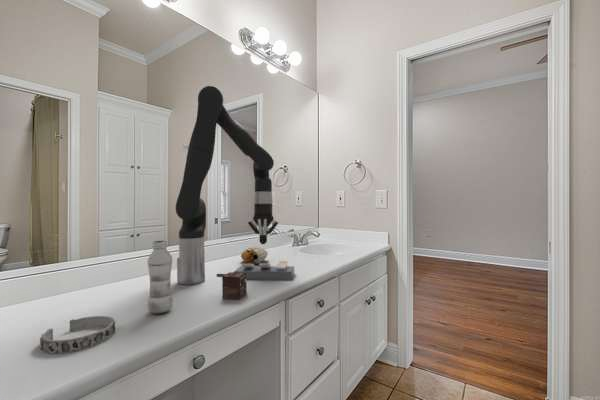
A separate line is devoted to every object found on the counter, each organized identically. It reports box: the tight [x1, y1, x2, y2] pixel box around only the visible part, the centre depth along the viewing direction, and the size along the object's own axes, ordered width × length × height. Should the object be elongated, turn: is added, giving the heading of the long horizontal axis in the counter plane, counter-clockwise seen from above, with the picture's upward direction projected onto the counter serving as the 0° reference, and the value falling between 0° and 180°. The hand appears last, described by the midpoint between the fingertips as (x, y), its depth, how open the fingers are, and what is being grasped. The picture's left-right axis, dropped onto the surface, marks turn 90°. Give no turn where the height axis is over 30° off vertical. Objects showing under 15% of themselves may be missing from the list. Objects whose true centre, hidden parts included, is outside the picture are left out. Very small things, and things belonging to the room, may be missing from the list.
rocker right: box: [276, 260, 288, 270], centre depth 117 cm, size 4×6×2 cm, turn 175°
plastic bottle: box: [147, 240, 174, 315], centre depth 82 cm, size 6×7×20 cm
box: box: [221, 271, 248, 301], centre depth 94 cm, size 6×6×7 cm
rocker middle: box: [258, 262, 272, 268], centre depth 117 cm, size 4×6×2 cm, turn 175°
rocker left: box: [241, 262, 255, 268], centre depth 118 cm, size 4×6×2 cm, turn 175°
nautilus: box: [239, 246, 269, 265], centre depth 142 cm, size 8×22×15 cm
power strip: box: [215, 265, 295, 281], centre depth 118 cm, size 32×9×3 cm, turn 85°
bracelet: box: [39, 315, 116, 355], centre depth 67 cm, size 14×14×3 cm
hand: (263, 243), depth 121 cm, fingers closed
